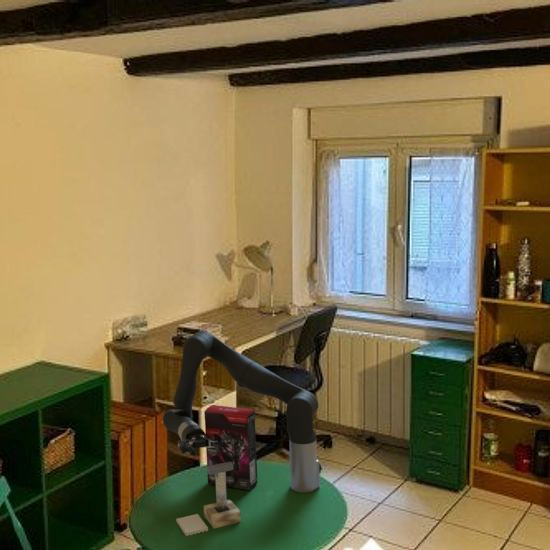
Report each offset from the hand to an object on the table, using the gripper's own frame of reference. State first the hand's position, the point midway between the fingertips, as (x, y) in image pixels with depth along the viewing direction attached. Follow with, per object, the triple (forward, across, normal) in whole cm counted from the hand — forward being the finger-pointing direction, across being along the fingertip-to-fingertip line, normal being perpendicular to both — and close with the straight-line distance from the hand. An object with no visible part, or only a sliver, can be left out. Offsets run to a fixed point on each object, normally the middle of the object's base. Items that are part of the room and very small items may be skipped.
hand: (207, 451), depth 234 cm
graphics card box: (-10, +12, +18) cm, 24 cm away
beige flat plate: (+12, -10, +18) cm, 24 cm away
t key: (+12, 0, +18) cm, 22 cm away
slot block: (+12, 0, +18) cm, 22 cm away
